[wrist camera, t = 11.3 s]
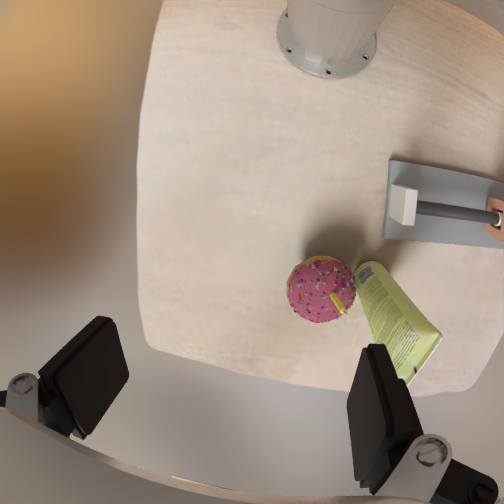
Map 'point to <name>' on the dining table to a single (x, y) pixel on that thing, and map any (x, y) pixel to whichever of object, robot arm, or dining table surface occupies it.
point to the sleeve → (495, 231)
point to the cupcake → (321, 288)
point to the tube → (395, 320)
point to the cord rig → (440, 206)
